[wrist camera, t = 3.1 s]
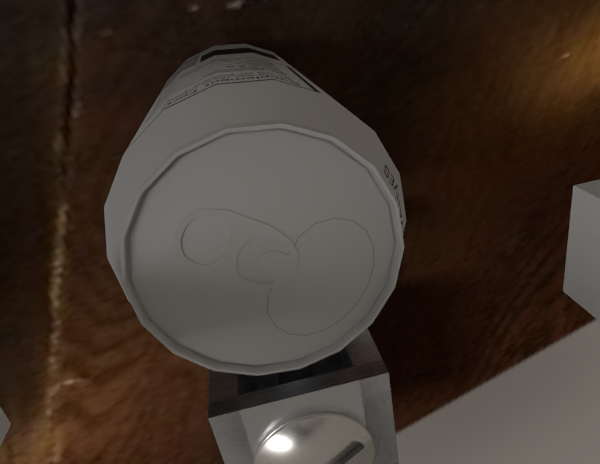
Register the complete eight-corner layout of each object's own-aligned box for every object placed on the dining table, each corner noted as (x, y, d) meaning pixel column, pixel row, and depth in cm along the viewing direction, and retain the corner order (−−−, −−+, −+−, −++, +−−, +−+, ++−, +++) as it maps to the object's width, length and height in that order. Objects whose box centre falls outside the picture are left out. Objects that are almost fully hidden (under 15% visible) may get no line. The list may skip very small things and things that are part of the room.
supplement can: (341, 86, 25) (488, 180, 12) (274, 219, 28) (332, 419, 14) (193, 10, 22) (166, 20, 9) (135, 165, 25) (48, 349, 12)
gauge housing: (209, 319, 30) (208, 428, 22) (347, 286, 31) (392, 381, 23) (241, 419, 34) (249, 540, 26) (362, 388, 35) (405, 498, 27)
